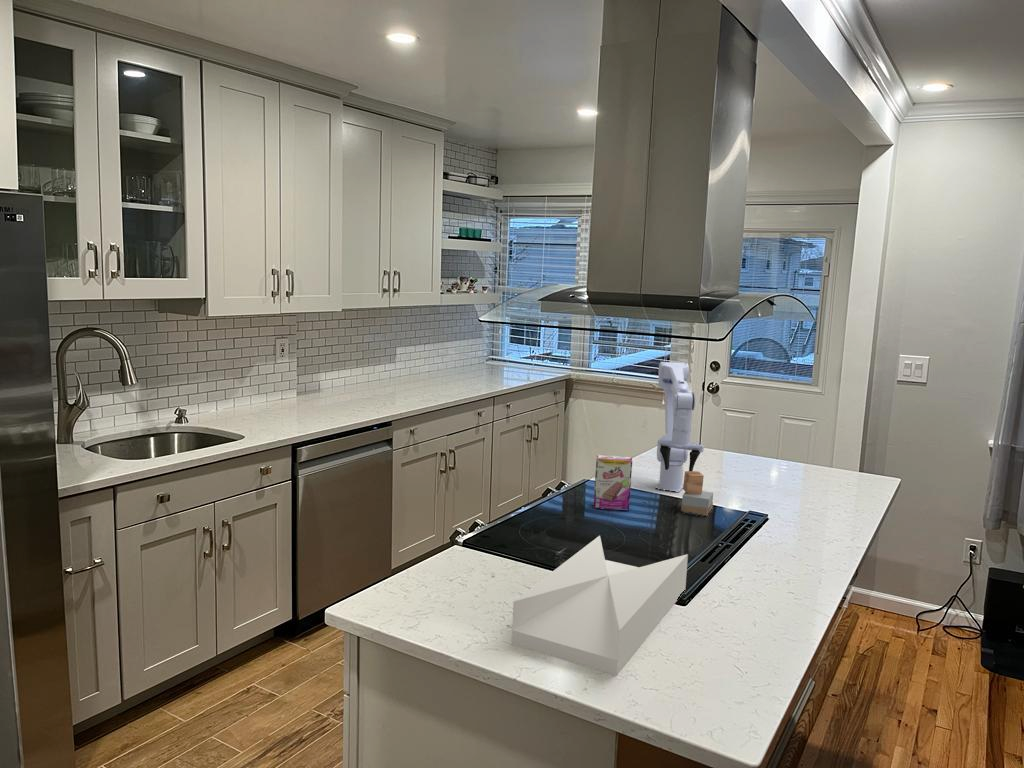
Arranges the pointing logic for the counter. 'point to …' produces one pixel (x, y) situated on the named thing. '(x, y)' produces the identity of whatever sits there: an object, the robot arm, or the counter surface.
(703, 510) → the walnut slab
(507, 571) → the counter surface
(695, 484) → the terracotta block
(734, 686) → the counter surface
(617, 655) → the white zigzag wedge
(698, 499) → the slate slab
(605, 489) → the candy bar box
